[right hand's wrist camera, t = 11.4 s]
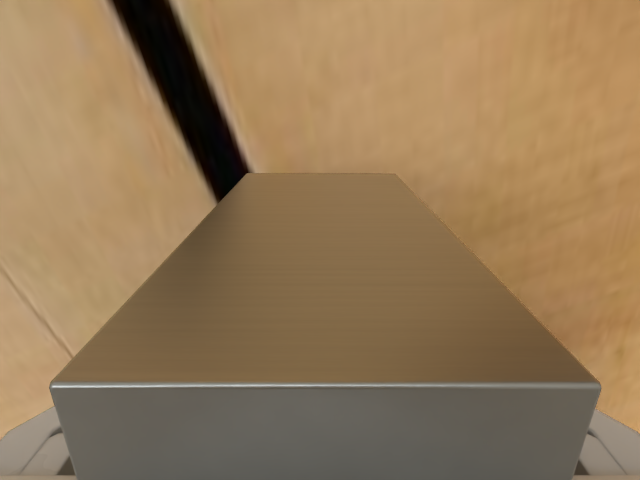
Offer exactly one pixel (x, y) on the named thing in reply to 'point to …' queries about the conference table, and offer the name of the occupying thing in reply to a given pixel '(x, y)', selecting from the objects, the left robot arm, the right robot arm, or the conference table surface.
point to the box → (323, 352)
